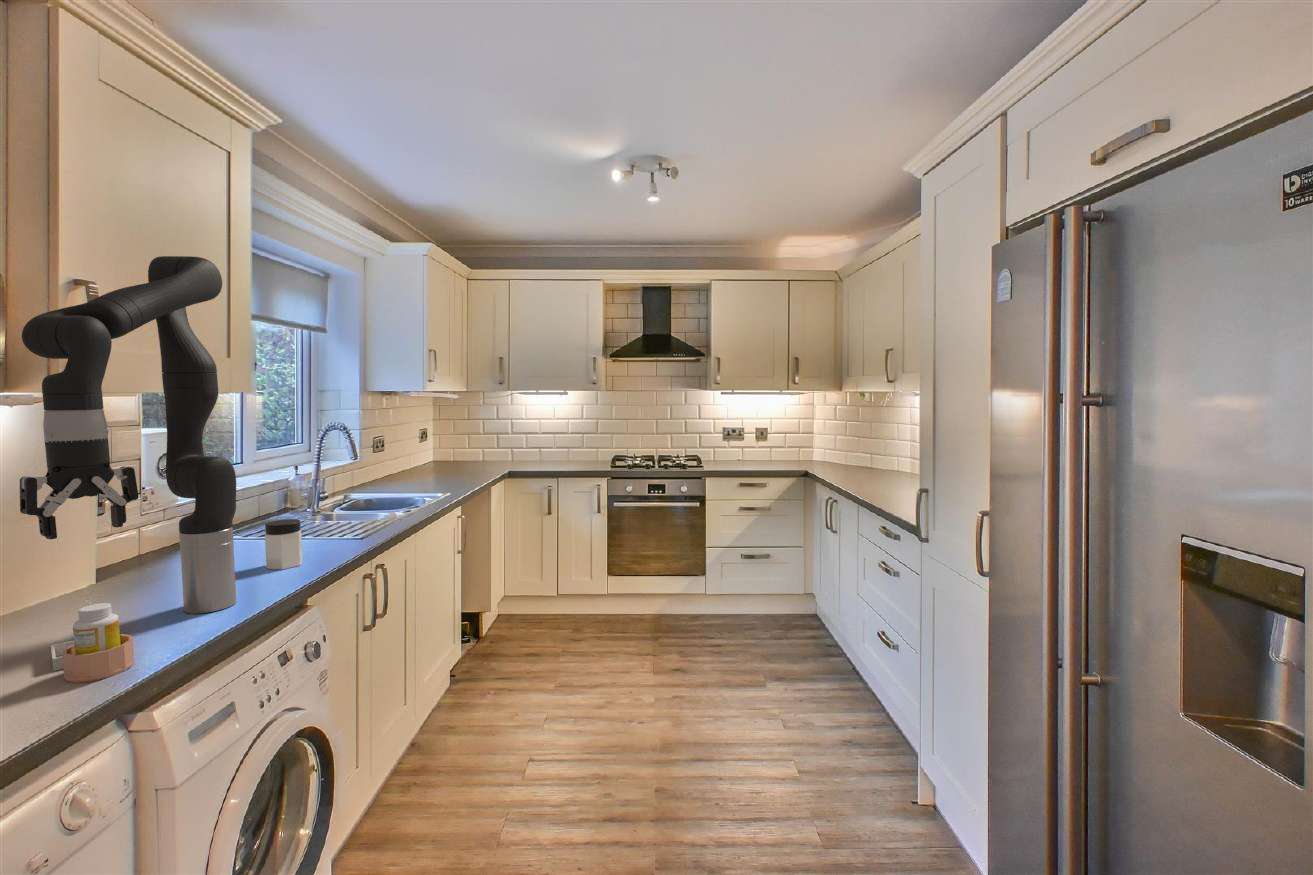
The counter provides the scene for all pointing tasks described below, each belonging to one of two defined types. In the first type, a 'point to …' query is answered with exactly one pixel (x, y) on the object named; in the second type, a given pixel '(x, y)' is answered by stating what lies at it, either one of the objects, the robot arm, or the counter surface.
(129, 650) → the terracotta bowl
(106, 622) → the supplement bottle
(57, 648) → the tray
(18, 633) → the counter surface
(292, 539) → the jar
